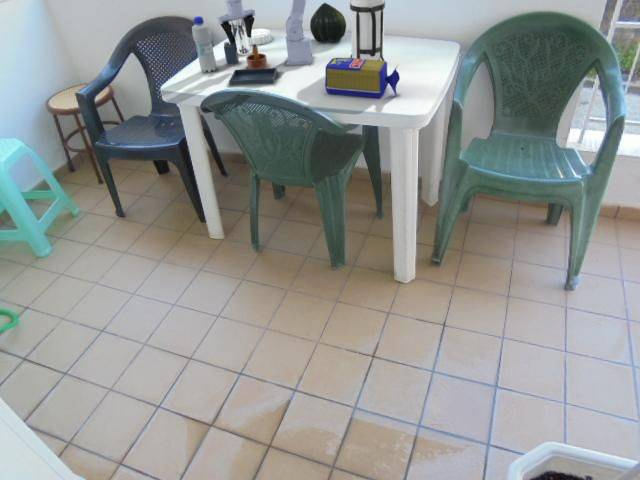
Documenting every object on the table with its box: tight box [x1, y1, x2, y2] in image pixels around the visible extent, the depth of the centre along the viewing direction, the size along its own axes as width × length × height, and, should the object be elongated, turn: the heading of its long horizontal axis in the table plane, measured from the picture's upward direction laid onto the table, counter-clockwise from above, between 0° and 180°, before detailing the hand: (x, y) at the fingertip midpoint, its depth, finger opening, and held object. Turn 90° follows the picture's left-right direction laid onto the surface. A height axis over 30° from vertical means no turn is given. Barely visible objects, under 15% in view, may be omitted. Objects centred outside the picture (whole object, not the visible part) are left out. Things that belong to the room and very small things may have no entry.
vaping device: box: [223, 32, 240, 65], centre depth 189 cm, size 3×5×12 cm, turn 78°
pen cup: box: [246, 52, 269, 69], centre depth 187 cm, size 8×8×4 cm
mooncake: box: [250, 27, 272, 46], centre depth 212 cm, size 12×12×4 cm
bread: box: [324, 57, 401, 99], centre depth 162 cm, size 10×25×10 cm, turn 70°
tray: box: [229, 67, 278, 86], centre depth 179 cm, size 16×10×2 cm, turn 86°
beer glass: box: [231, 18, 253, 56], centre depth 197 cm, size 7×7×15 cm
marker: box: [251, 44, 259, 60], centre depth 185 cm, size 2×2×8 cm
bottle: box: [191, 15, 218, 73], centre depth 183 cm, size 7×7×20 cm
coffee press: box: [349, 0, 386, 61], centre depth 176 cm, size 17×16×30 cm
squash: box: [309, 2, 347, 43], centre depth 204 cm, size 14×15×15 cm
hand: (240, 39), depth 184 cm, fingers open, 7 cm apart
